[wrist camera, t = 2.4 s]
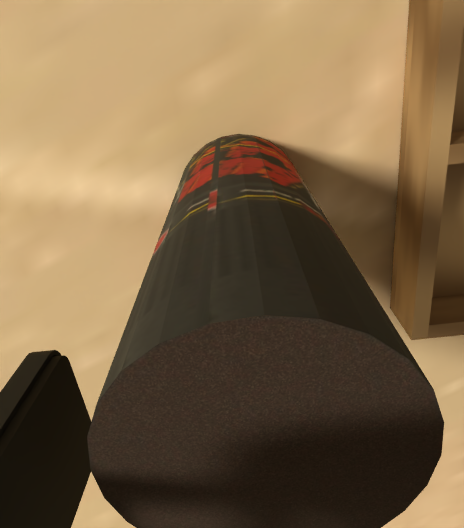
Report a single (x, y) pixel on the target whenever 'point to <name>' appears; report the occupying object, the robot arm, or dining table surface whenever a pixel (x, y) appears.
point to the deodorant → (259, 368)
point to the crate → (431, 175)
